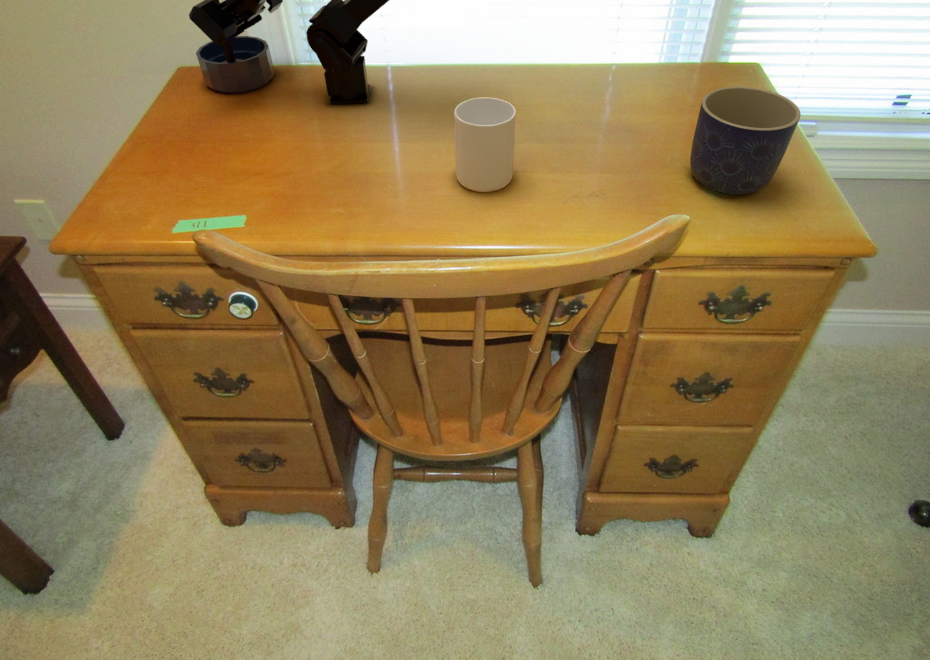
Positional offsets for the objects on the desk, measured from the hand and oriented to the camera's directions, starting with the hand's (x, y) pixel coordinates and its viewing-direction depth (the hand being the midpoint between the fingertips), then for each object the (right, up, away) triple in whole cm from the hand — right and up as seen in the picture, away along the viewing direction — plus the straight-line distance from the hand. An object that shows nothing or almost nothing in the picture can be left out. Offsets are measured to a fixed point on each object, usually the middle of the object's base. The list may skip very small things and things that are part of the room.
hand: (219, 40), depth 111 cm
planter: (+81, -29, -19) cm, 88 cm away
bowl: (+2, -5, +6) cm, 8 cm away
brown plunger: (+1, -5, +4) cm, 7 cm away
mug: (+46, -27, -17) cm, 56 cm away
